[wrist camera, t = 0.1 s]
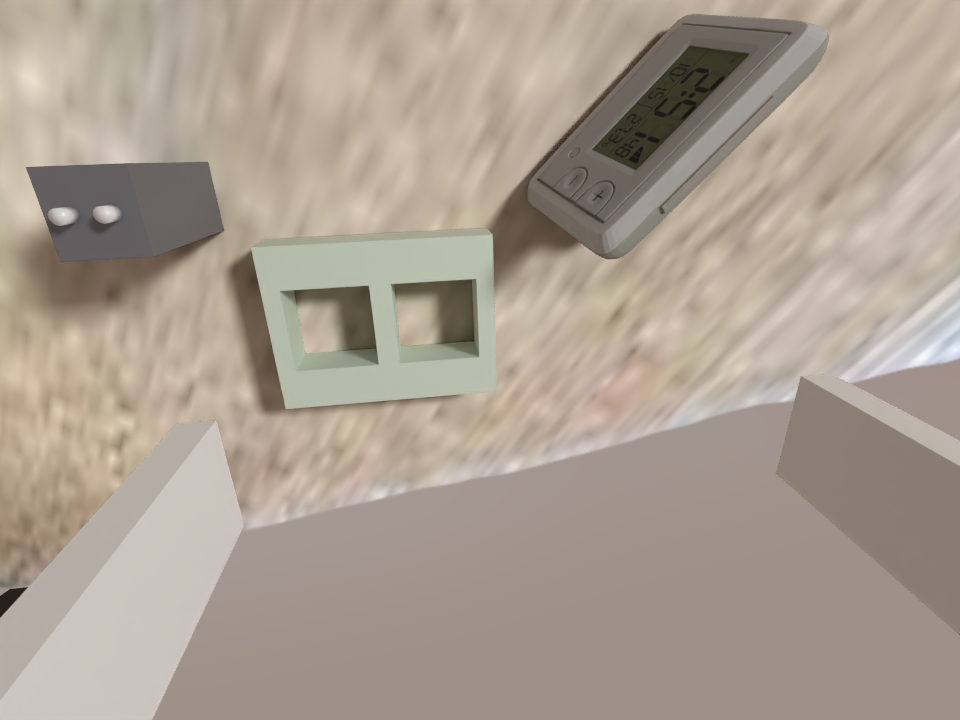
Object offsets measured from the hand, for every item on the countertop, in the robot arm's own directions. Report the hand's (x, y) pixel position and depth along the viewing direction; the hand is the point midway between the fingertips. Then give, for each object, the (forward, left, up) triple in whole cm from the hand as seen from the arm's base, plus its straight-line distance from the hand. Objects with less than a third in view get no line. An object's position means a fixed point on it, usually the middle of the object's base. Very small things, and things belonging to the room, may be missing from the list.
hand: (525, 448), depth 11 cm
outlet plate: (+5, -5, -28) cm, 29 cm away
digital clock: (-7, +13, -28) cm, 32 cm away
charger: (-4, -18, -28) cm, 34 cm away
